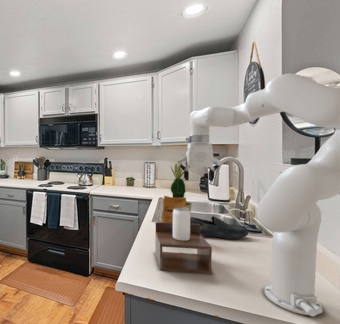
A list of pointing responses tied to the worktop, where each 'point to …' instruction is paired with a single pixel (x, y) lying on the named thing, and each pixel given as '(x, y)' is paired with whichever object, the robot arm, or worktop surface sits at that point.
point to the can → (181, 224)
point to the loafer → (219, 228)
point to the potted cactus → (179, 190)
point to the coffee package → (171, 207)
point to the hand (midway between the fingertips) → (198, 180)
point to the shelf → (182, 260)
